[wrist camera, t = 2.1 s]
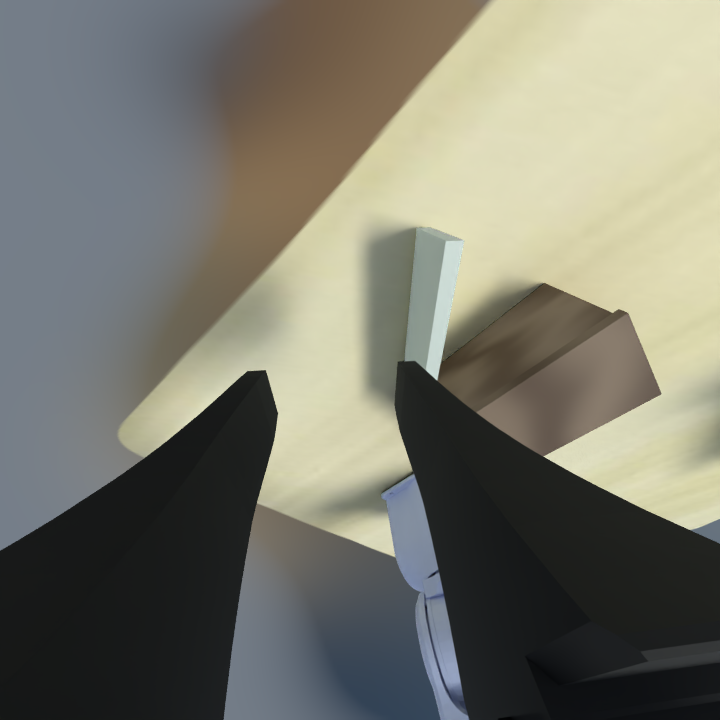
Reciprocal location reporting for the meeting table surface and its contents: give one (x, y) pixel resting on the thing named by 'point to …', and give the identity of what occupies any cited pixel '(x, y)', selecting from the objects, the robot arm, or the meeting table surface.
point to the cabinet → (552, 370)
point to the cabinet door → (431, 296)
